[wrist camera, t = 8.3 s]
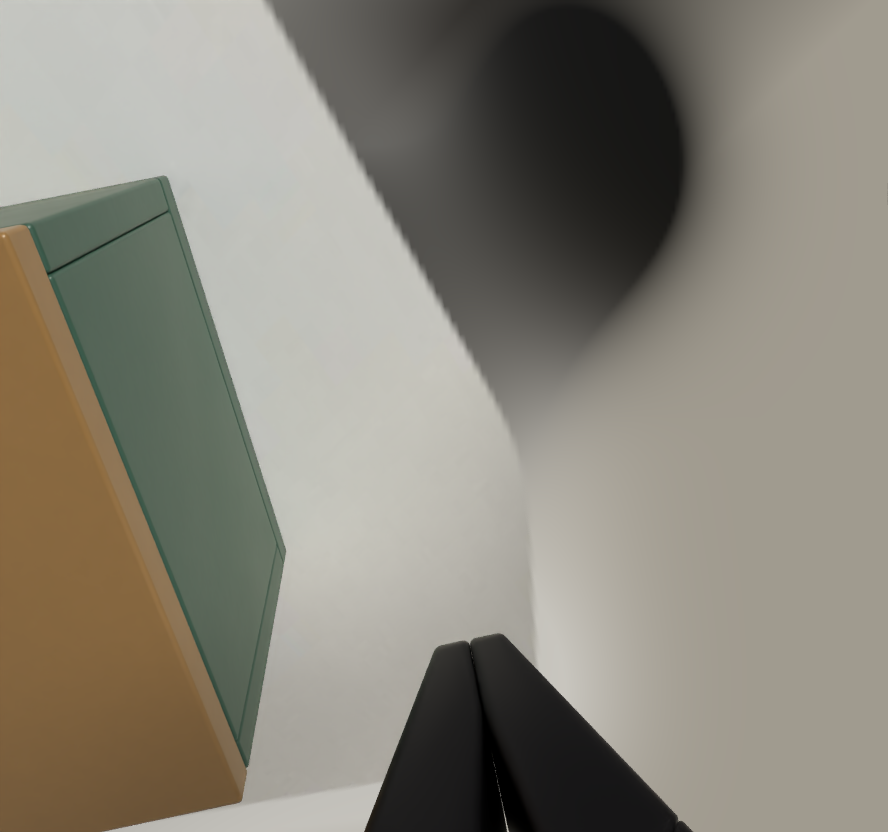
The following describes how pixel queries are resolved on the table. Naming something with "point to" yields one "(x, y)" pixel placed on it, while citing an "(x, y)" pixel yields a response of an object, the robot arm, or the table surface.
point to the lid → (87, 604)
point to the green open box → (170, 418)
